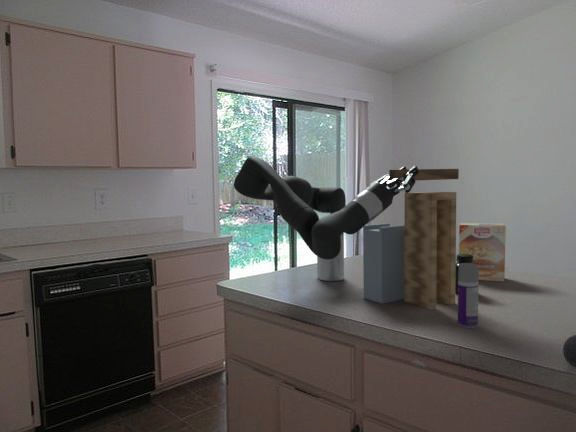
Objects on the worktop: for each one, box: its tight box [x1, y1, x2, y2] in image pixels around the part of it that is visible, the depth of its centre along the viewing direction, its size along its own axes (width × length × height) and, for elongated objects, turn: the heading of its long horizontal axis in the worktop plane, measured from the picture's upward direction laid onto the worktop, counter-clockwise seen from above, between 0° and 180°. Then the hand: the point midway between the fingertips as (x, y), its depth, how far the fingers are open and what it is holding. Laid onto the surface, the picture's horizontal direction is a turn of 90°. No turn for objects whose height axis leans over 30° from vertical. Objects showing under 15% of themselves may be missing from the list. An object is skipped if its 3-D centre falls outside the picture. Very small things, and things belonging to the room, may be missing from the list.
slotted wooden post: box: [403, 191, 457, 310], centre depth 131 cm, size 10×10×32 cm
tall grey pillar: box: [362, 222, 405, 305], centre depth 137 cm, size 8×10×22 cm
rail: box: [388, 168, 460, 181], centre depth 128 cm, size 4×24×3 cm, turn 121°
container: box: [457, 263, 480, 329], centre depth 111 cm, size 5×5×15 cm
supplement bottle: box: [455, 253, 473, 295], centre depth 141 cm, size 7×7×12 cm
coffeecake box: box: [458, 222, 507, 282], centre depth 161 cm, size 15×7×20 cm, turn 68°
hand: (411, 169), depth 125 cm, fingers closed on rail, 3 cm apart
